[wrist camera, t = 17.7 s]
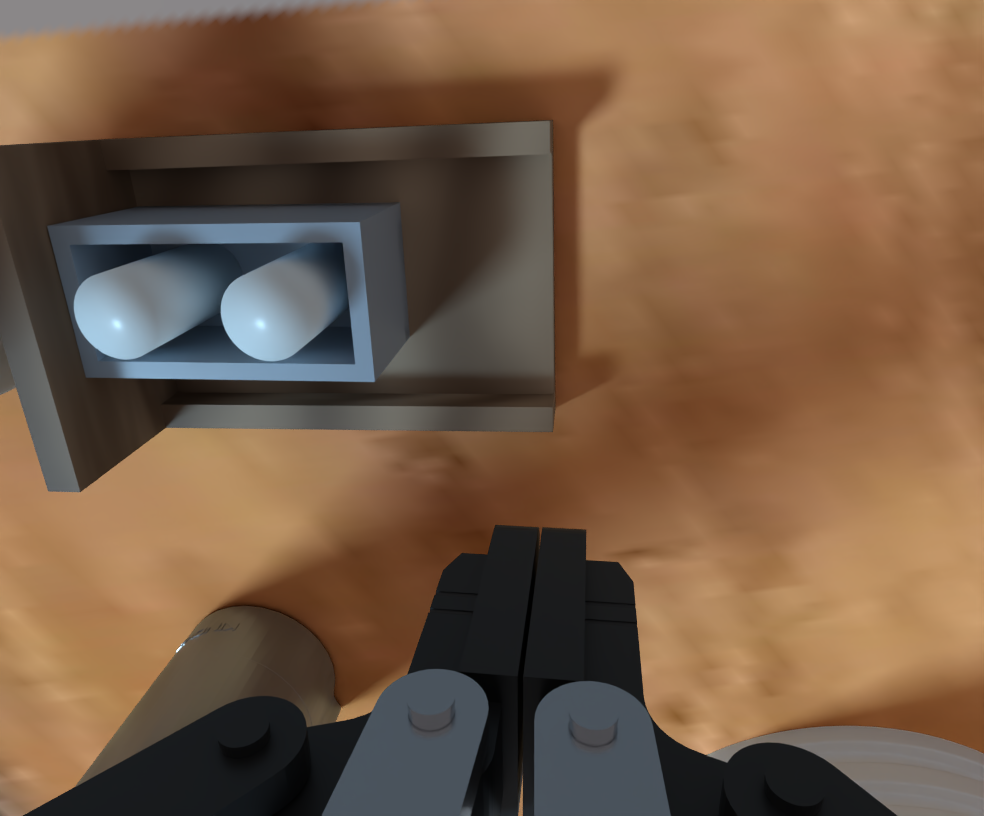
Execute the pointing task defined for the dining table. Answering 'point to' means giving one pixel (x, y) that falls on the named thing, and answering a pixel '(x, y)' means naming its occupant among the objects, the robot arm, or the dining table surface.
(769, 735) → the plate stack
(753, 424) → the dining table surface
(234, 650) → the robot arm
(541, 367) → the shelf
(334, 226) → the caddy
